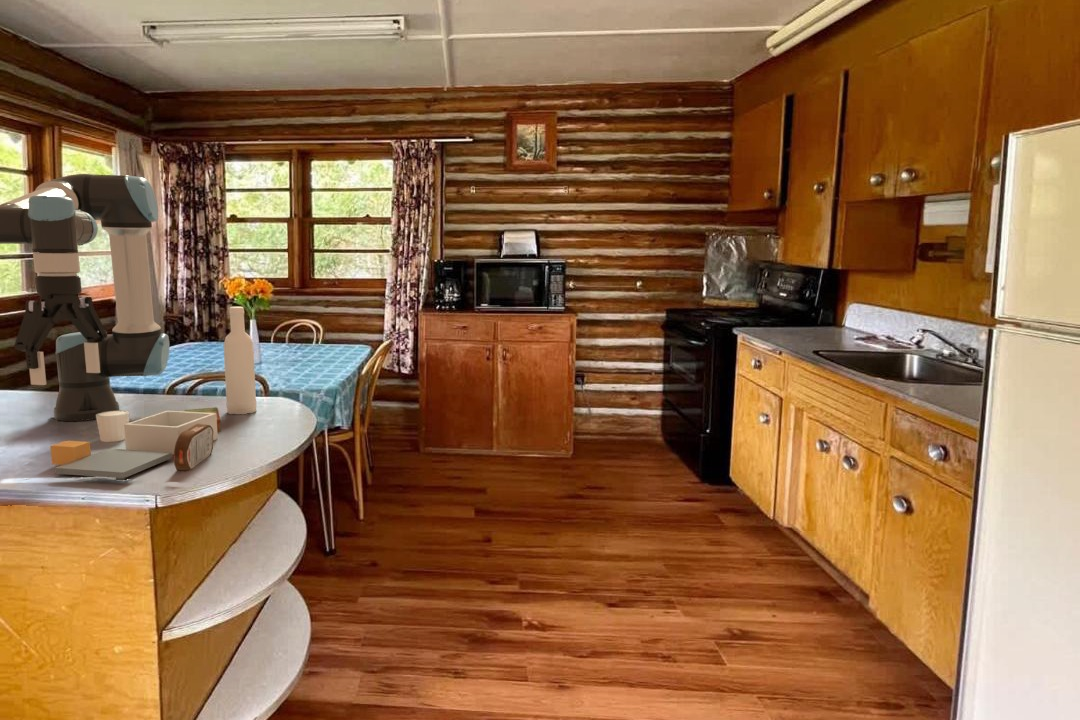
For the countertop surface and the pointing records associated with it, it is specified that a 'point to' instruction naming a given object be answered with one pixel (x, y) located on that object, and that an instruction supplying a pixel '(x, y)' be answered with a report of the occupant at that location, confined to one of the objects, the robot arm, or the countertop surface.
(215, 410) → the carton
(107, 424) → the cream cylindrical piece
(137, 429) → the tub
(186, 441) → the tin
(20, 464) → the countertop surface
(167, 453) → the lid
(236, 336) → the bottle
